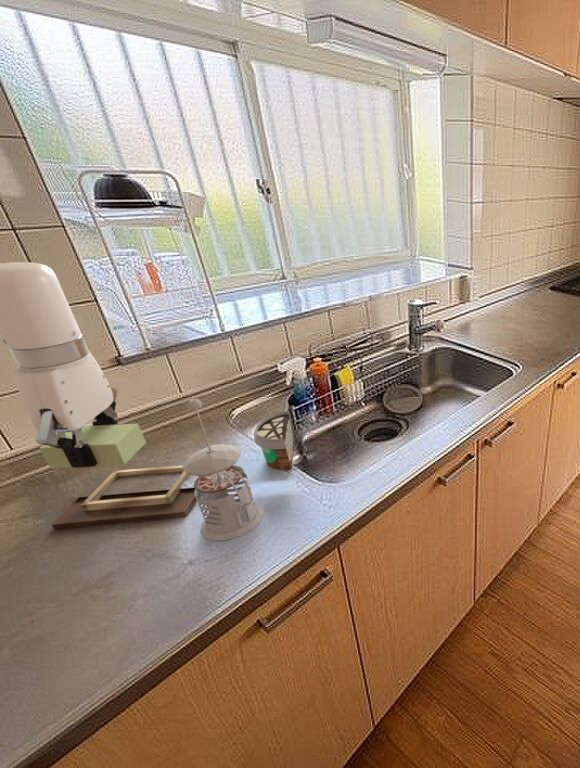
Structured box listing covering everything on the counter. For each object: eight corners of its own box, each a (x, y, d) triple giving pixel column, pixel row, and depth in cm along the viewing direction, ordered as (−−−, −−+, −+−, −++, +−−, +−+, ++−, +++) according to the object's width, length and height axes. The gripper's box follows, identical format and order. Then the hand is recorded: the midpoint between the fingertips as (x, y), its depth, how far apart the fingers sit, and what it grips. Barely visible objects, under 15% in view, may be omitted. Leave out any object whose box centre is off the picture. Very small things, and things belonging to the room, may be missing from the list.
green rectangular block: (50, 469, 65) (38, 448, 63) (78, 446, 70) (68, 426, 69) (124, 464, 67) (115, 444, 65) (146, 442, 72) (138, 423, 71)
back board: (54, 529, 72) (47, 518, 71) (109, 473, 85) (104, 463, 84) (186, 516, 76) (181, 505, 75) (219, 465, 89) (216, 455, 88)
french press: (242, 493, 82) (207, 379, 70) (282, 516, 77) (251, 398, 66) (188, 526, 74) (138, 404, 63) (229, 553, 69) (183, 427, 58)
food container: (266, 450, 94) (256, 412, 90) (297, 446, 96) (288, 409, 92) (258, 486, 84) (247, 445, 79) (292, 480, 86) (283, 440, 82)
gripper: (65, 331, 67) (107, 425, 75) (-38, 379, 52) (29, 490, 60) (119, 331, 69) (155, 423, 77) (34, 377, 54) (90, 486, 62)
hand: (99, 452), depth 69 cm, fingers closed on green rectangular block, 6 cm apart
